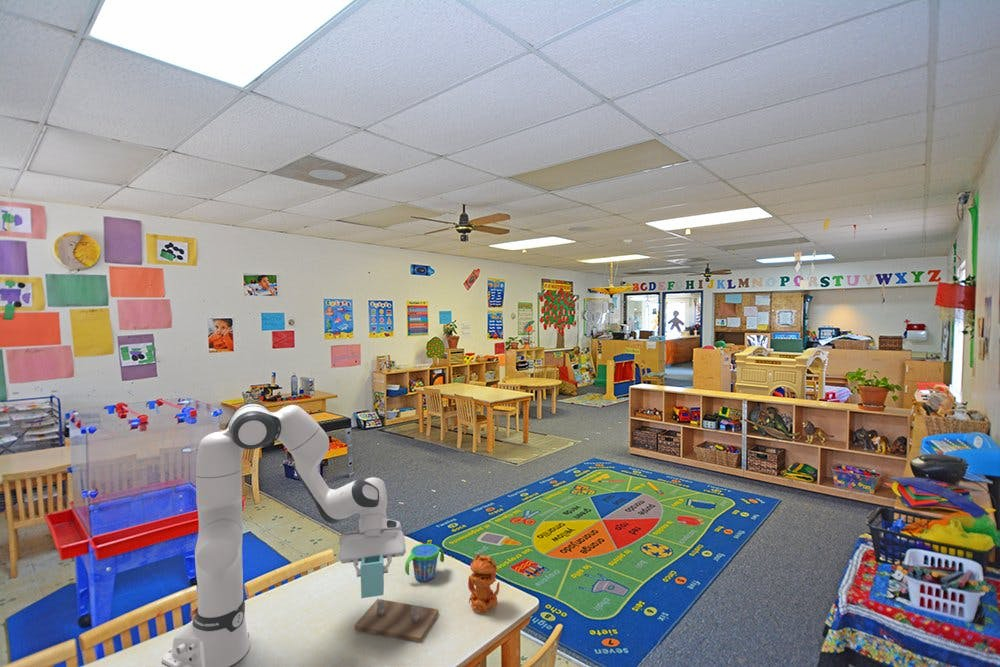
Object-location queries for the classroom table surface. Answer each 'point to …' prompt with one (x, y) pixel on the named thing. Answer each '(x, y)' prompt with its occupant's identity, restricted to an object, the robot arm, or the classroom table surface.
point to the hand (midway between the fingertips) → (372, 574)
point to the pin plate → (397, 620)
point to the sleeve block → (372, 576)
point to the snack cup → (424, 561)
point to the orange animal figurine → (483, 583)
